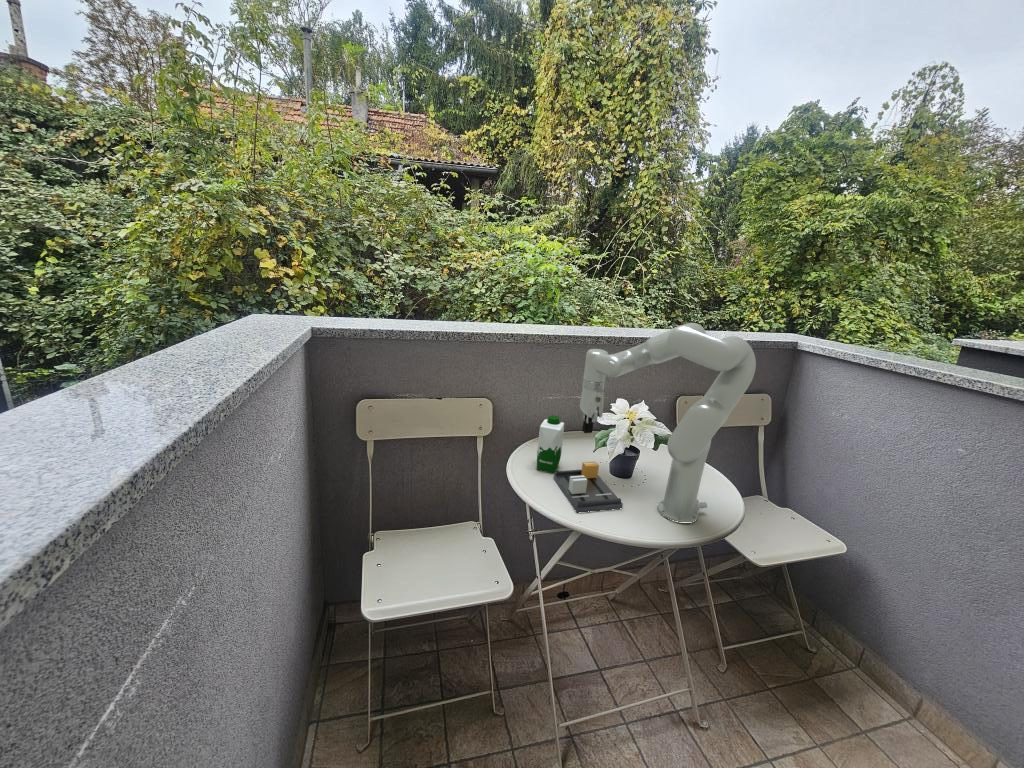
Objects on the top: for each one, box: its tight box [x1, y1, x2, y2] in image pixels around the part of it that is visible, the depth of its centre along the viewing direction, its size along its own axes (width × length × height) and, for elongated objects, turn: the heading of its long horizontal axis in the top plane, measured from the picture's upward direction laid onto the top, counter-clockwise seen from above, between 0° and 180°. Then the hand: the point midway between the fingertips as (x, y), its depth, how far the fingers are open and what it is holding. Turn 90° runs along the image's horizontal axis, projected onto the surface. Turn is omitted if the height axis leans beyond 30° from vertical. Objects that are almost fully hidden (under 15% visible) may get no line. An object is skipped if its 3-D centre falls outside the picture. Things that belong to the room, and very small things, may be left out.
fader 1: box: [569, 475, 587, 494], centre depth 149 cm, size 5×3×5 cm, turn 105°
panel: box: [553, 469, 624, 514], centre depth 153 cm, size 16×22×3 cm
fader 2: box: [581, 461, 600, 479], centre depth 159 cm, size 5×3×5 cm, turn 105°
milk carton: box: [536, 414, 565, 475], centre depth 166 cm, size 9×9×20 cm
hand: (587, 431), depth 161 cm, fingers closed
